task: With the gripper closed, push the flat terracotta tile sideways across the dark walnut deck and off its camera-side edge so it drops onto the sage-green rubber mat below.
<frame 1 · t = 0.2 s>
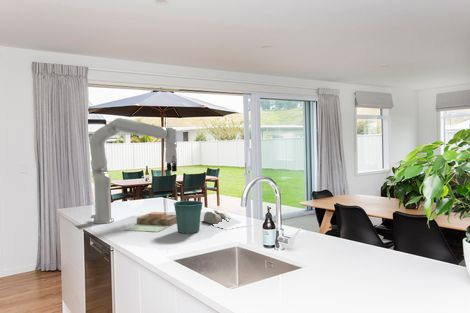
hand: (171, 171, 259), 30 cm above the worktop, tool pointing down, fingers open, 9 cm apart
grey lumpy piece: (224, 224, 235), on the worktop
flower pot: (188, 231, 215), on the worktop
sage mat: (146, 228, 223), on the worktop
walnut deck: (158, 222, 237), on the worktop
terracotta tile: (157, 216, 236), point 4 cm above the worktop, touching walnut deck
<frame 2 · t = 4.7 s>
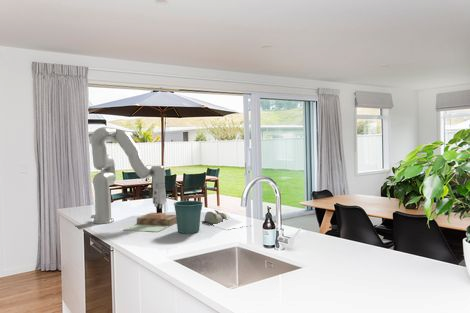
hand: (159, 214, 238), 5 cm above the worktop, tool pointing down, fingers closed
terracotta tile: (156, 217, 234), point 4 cm above the worktop, touching gripper, walnut deck
everything else where it was.
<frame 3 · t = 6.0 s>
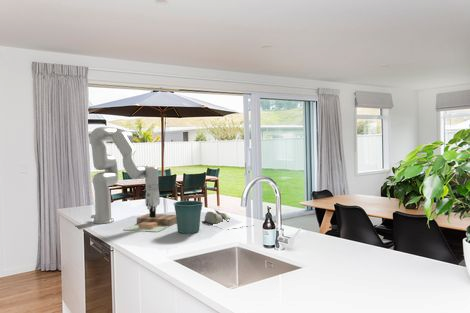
hand: (152, 217, 230), 5 cm above the worktop, tool pointing down, fingers closed
terracotta tile: (147, 223, 224), point 3 cm above the worktop, tilted 180°, touching sage mat
everything else where it was.
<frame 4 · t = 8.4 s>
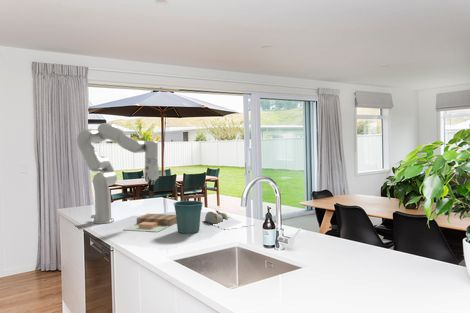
hand: (151, 190, 234), 20 cm above the worktop, tool pointing down, fingers closed
nothing on the worktop moved.
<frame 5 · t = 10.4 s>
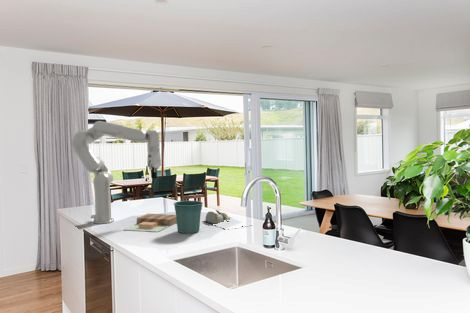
hand: (154, 178, 244), 27 cm above the worktop, tool pointing down, fingers closed
at the end: terracotta tile inside the target area (0.8 cm from its centre), point 2.8 cm above the worktop; terracotta tile touching sage mat; terracotta tile moved 13.1 cm from its start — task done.
